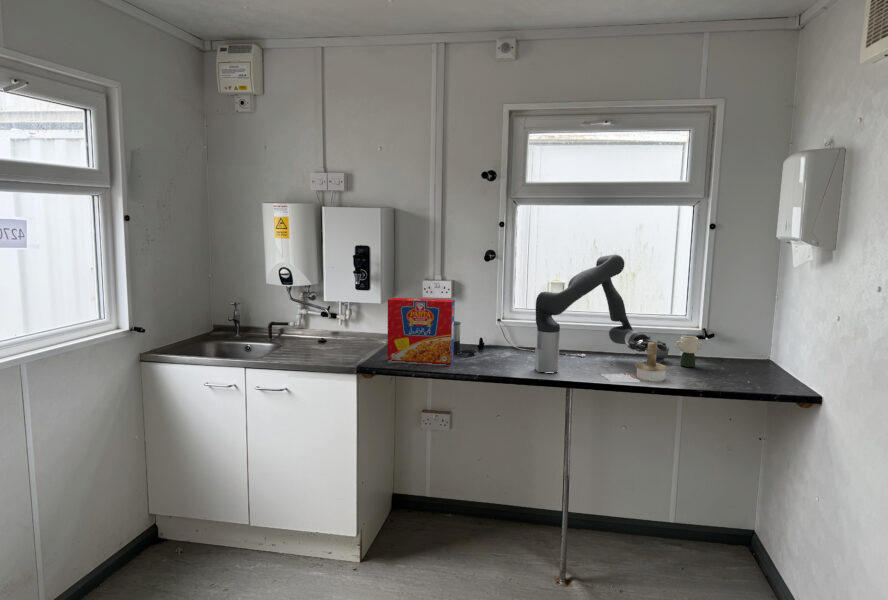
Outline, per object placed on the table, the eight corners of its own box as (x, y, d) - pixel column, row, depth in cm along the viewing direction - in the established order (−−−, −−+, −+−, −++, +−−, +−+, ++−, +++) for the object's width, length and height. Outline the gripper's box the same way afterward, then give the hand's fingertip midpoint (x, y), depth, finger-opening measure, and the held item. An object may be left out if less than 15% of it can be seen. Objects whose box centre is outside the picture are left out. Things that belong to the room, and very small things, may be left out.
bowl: (644, 381, 221) (644, 370, 220) (633, 375, 231) (633, 364, 230) (668, 381, 222) (669, 370, 221) (656, 375, 232) (657, 364, 231)
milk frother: (439, 351, 271) (440, 320, 270) (471, 350, 274) (472, 320, 272) (444, 357, 257) (445, 325, 256) (478, 356, 260) (479, 325, 258)
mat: (611, 383, 218) (611, 382, 218) (597, 374, 232) (598, 373, 232) (643, 383, 219) (643, 382, 219) (628, 373, 233) (628, 372, 233)
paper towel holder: (643, 371, 219) (644, 346, 218) (630, 364, 231) (631, 340, 230) (672, 371, 220) (674, 346, 219) (658, 363, 232) (660, 340, 231)
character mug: (698, 365, 250) (700, 336, 248) (703, 369, 243) (705, 339, 241) (672, 364, 252) (674, 335, 250) (676, 367, 245) (678, 338, 243)
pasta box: (387, 363, 246) (387, 299, 242) (392, 359, 254) (392, 297, 250) (450, 366, 241) (451, 302, 238) (453, 362, 249) (454, 299, 245)
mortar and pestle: (664, 359, 260) (666, 334, 259) (671, 364, 251) (672, 337, 250) (640, 358, 262) (641, 333, 260) (645, 363, 252) (646, 337, 251)
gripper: (621, 332, 238) (637, 339, 222) (653, 332, 239) (672, 339, 223) (620, 349, 239) (636, 358, 223) (652, 349, 240) (671, 358, 224)
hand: (654, 349), depth 223 cm, fingers open, 8 cm apart
